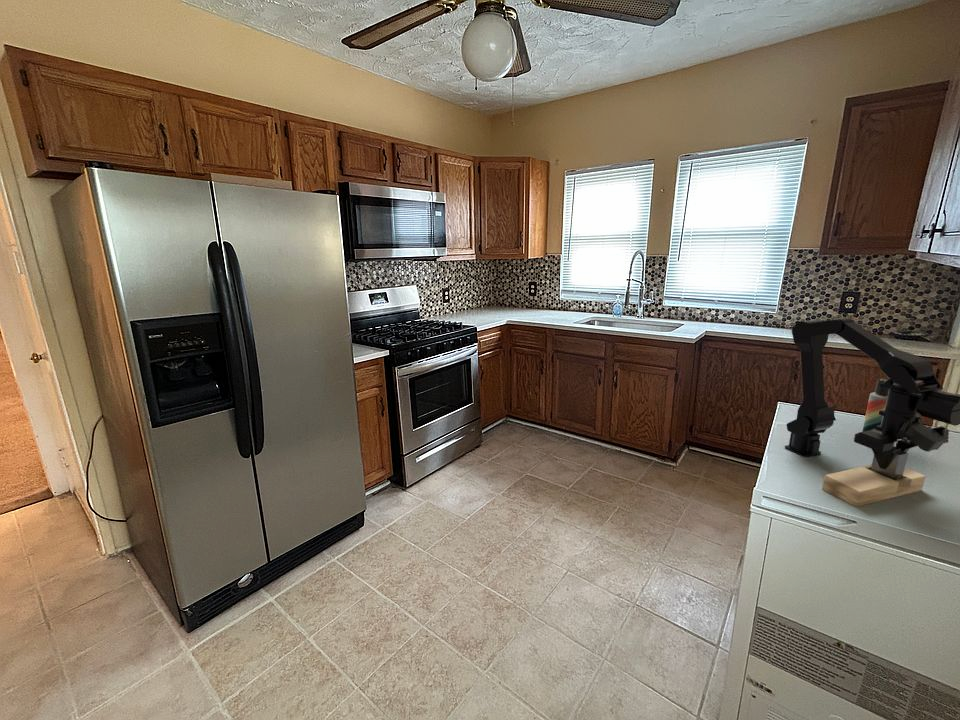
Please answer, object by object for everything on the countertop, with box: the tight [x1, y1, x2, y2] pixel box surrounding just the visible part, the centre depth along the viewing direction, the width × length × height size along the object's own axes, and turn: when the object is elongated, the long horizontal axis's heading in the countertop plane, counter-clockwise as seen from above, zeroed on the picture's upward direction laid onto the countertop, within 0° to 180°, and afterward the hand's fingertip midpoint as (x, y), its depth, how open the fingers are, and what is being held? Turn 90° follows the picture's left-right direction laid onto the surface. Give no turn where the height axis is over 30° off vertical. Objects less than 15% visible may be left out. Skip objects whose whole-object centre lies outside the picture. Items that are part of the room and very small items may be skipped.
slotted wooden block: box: [821, 464, 927, 508], centre depth 106 cm, size 8×22×4 cm, turn 105°
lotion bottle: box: [861, 378, 889, 434], centre depth 129 cm, size 6×6×20 cm
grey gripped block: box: [871, 450, 909, 481], centre depth 105 cm, size 5×3×8 cm, turn 15°
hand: (887, 467), depth 106 cm, fingers closed on grey gripped block, 3 cm apart
